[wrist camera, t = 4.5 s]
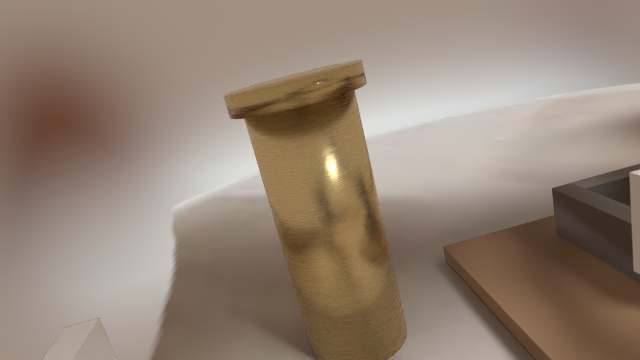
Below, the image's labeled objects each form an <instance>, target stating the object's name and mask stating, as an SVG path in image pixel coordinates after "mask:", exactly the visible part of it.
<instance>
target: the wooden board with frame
mask: <svg viewBox="0 0 640 360" xmlns="http://www.w3.org/2000/svg"><path fill="white" fill-rule="evenodd" d="M636 170H640V164H638V165H634V166H630V167H627V168H623V169H620V170H616V171H612V172H609V173H605V174H602V175H598V176H595V177H591V178H587V179H584V180H580V181H577V182H573V183H569V184H566V185H562V186H559V187H555V188H552V193H553V203H554V213H555V215H554V216H551V217H547V218H544V219H540V220H537V221H533V222H530V223H526V224H522V225H519V226H515V227H512V228H508V229H505V230H501V231H498V232H494V233H491V234H487V235H484V236H480V237H476V238H473V239H469V240H466V241H462V242H459V243H455V244H452V245H448V246H445V247H443V248H444V253H445V259H446V261H447V262H448V263H449V264H450V266H451V267H452V268H453V269H454V270H455V271H456V272H457V273H458V274H459V276H460V277H461V278H462V279H463V280H464V281H465V282H466V283H467V284H468V285H469V287H470V288H471V289H472V290H473V291H474V292H475V293H476V294H477V295H478V296H479V298H480V299H481V300H482V301H483V302H484V303H485V304H486V305H487V306H488V308H489V309H490V310H491V311H492V312H493V313H494V314H495V315H496V316H497V317H498V319H499V320H500V321H501V322H502V323H503V324H504V325H505V326H506V327H507V328H508V330H509V331H510V332H511V333H512V334H513V335H514V336H515V337H516V338H517V340H518V341H519V342H520V343H521V344H522V345H523V346H524V347H525V348H526V349H527V351H528V352H529V353H530V354H531V355H532V356H533V357H534V358H535V359H536V360H640V274H638V273H637V272H635V271H634V267H633V244H632V222H631V199H630V176H629V172H632V171H636Z"/></svg>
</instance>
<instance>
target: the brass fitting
mask: <svg viewBox="0 0 640 360" xmlns="http://www.w3.org/2000/svg"><path fill="white" fill-rule="evenodd" d="M364 85H366V78H365V73H364V68H363V64H362V60H356V61H350V62H344V63H340V64H335V65H330V66H326V67H321V68H317V69H313V70H309V71H305V72H301V73H297V74H293V75H289V76H285V77H281V78H277V79H274V80H270V81H267V82H263V83H259V84H256V85H252V86H249V87H246V88H242V89H239V90H236V91H233V92H230V93H228V94H225V95H224V99H225V103H226V106H227V109H228V113H229V116H230V118H231V119H243V118H244V119H245V122H246V126H247V129H248V133H249V136H250V139H251V143H252V146H253V150H254V153H255V156H256V159H257V163H258V167H259V170H260V173H261V177H262V180H263V184H264V187H265V190H266V194H267V197H268V201H269V204H270V207H271V211H272V214H273V218H274V221H275V224H276V228H277V231H278V235H279V238H280V241H281V245H282V248H283V252H284V255H285V258H286V262H287V265H288V269H289V272H290V275H291V279H292V282H293V286H294V289H295V292H296V296H297V299H298V303H299V306H300V309H301V313H302V316H303V319H304V323H305V326H306V330H307V333H308V336H309V340H310V343H311V347H312V350H313V353H314V355H315V357H316V358H317V359H318V360H387V359H389V358H390V357H391V356H393V355H394V354H395V353H396V352H397V351H398V350H399V349H400V348H401V346H402V345H403V343H404V341H405V339H406V335H407V328H406V323H405V318H404V314H403V309H402V304H401V300H400V295H399V291H398V286H397V282H396V277H395V273H394V268H393V263H392V259H391V254H390V250H389V245H388V241H387V236H386V232H385V227H384V222H383V218H382V213H381V209H380V204H379V200H378V195H377V191H376V186H375V181H374V177H373V172H372V168H371V163H370V159H369V154H368V150H367V145H366V140H365V136H364V131H363V127H362V123H361V118H360V114H359V109H358V104H357V99H356V95H355V90H356V89H358V88H360V87H362V86H364Z"/></svg>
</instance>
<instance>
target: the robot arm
mask: <svg viewBox="0 0 640 360" xmlns="http://www.w3.org/2000/svg"><path fill="white" fill-rule="evenodd" d="M629 176H630V199H631V222H632V244H633V267H634V271H635V272H637V273H638V274H640V170H636V171H632V172H629ZM42 360H117V358H116V356H115V353H114V351H113V349H112V346H111V344H110V342H109V339H108V337H107V335H106V332H105V330H104V328H103V325H102V323H101V321H100V319H99V318H97V319H93V320H89V321H86V322H82V323H78V324H75V325H71V326H67V327H66V328H65V329H64V330H63V331H62V333H61V334H60V336H59V337H58V338H57V340H56V341H55V342H54V343H53V345H52V346H51V348H50V349H49V350H48V351H47V353H46V354H45V355H44V357H43V358H42Z"/></svg>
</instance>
